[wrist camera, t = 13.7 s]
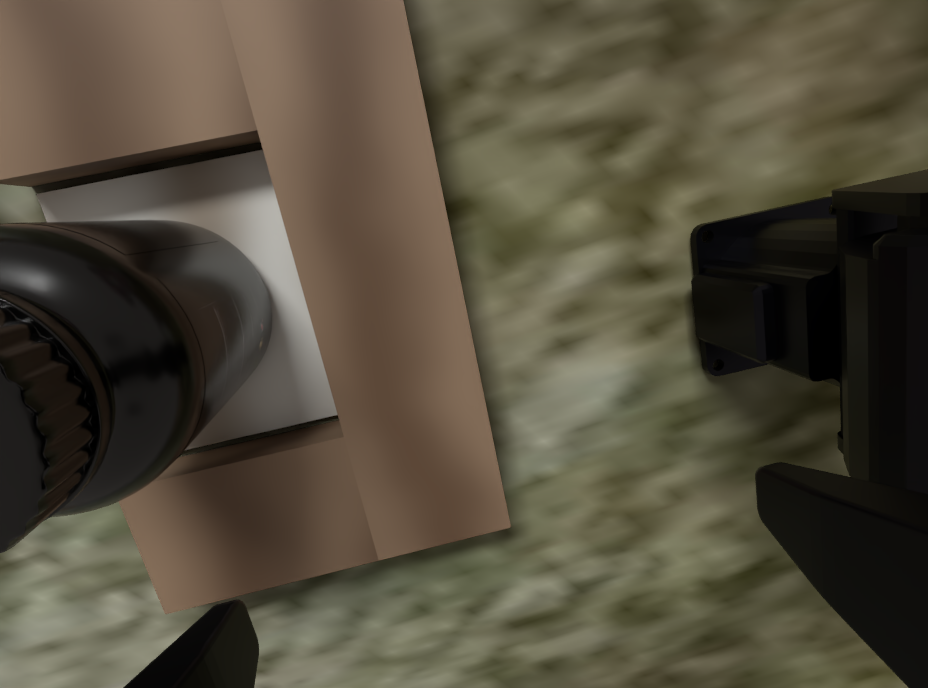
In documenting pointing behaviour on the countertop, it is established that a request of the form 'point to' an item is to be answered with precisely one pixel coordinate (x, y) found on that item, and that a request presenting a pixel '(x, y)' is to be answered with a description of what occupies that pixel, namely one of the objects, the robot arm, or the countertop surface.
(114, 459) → the supplement bottle
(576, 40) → the countertop surface
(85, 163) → the notched shelf board
